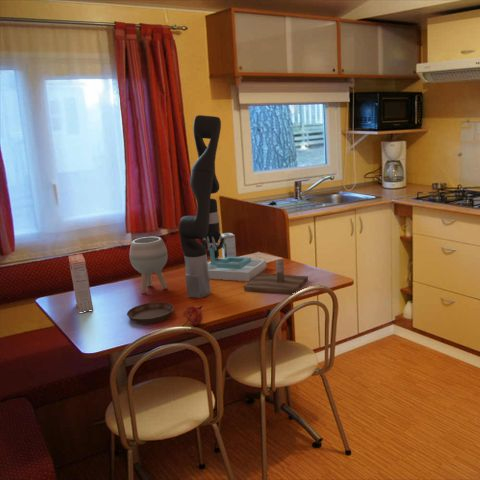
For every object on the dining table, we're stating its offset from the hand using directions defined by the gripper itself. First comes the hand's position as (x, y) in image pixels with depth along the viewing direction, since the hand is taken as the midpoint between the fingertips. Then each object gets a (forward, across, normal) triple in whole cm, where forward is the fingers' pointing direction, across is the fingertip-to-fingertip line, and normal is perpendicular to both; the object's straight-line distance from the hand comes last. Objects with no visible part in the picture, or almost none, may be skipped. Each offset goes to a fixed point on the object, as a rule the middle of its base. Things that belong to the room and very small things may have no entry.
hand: (214, 257), depth 255 cm
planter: (+7, -16, -29) cm, 34 cm away
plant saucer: (+7, +2, -57) cm, 58 cm away
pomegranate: (+7, +22, -60) cm, 64 cm away
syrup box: (+7, 0, +16) cm, 18 cm away
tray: (+7, +9, 0) cm, 11 cm away
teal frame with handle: (+3, +7, 0) cm, 8 cm away
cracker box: (+7, -32, -55) cm, 64 cm away
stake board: (+7, +36, -13) cm, 39 cm away
